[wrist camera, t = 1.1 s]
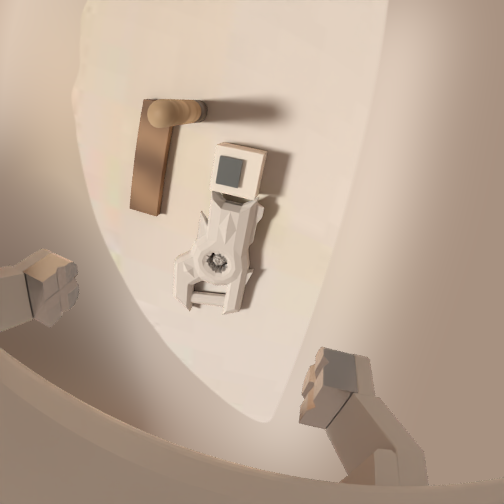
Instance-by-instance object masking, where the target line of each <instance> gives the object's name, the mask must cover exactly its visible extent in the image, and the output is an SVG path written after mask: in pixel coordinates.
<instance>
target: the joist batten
mask: <svg viewBox="0 0 504 504" xmlns="http://www.w3.org/2000/svg"><path fill="white" fill-rule="evenodd" d="M154 101H156V100H148V99H144V101H143V107H142V112H141V118H140V124H139V131H138V138H137V145H136V152H135V160H134V169H133V178H132V188H131V199H130V209H133V210H137V211H140V212H143V213H147V214H150V215H154V216H158V215H159V214H160V209H161V201H162V193H163V186H164V179H165V172H166V165H167V159H168V153H169V147H170V141H171V135H172V130H173V126H170V127H164V128H156V127H154V126H152V125H151V124H150V122H149V120H148V117H147V112H148V108H149V106H150V105H151V104H152V103H153V102H154Z"/></svg>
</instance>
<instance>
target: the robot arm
mask: <svg viewBox="0 0 504 504" xmlns="http://www.w3.org/2000/svg"><path fill="white" fill-rule="evenodd" d="M77 275H78V270H77V265H76V264H75V263H74V262H72V261H70V260H68V259H66V258H64V257H62V256H59V255H57V254H55V253H53V252H50V251H48V250H46V249H40V250H38V251H37V252H35V253H34V254H32V255H30V256H29V257H27V258H26V259H24V260H22V261H21V262H19V263H18V264H16V265H15V266H13V267H12V266H5V267H0V332H2V331H5V330H7V329H10V328H12V327H15V326H17V325H20V324H22V323H25V322H28V321H30V320H33V319H35V320H37V321H39V322H41V323H42V324H44V325H46V326H48V327H50V328H51V327H52V326H53V325H54V324H55V323H56V322H57V321H58V320H59V319H60V318H61V317H62V312H63V311H67V310H69V309H71V308H72V307H73V306H74V305H75V303H76V301H77V299H78V295H79V285H78V283H77V281H76V279H75V277H76V276H77ZM302 396H303V397H304V401H303V403H302V405H301V407H300V417H299V423H301V424H305V425H309V426H313V427H318V428H322V429H326V430H325V431H326V433H327V435H328V437H329V439H330V441H331V443H332V445H333V447H334V449H335V451H336V453H337V455H338V457H339V459H340V460H341V462H342V464H343V466H344V468H345V470H346V472H347V474H348V476H346V477H345V478H344V479H343V480H341V481H340V482H339V483H337V482H328V481H321V480H314V479H307V478H301V477H295V476H290V475H285V474H280V473H275V472H270V471H265V470H261V469H257V468H253V467H248V466H245V465H241V464H237V463H233V462H230V461H226V460H222V459H219V458H216V457H213V456H209V455H206V454H203V453H200V452H197V451H194V450H191V449H188V448H185V447H182V446H180V445H177V444H174V443H172V442H169V441H167V440H164V439H161V438H159V437H156V436H154V435H151V434H149V433H147V432H144V431H142V430H139V429H137V428H135V427H133V426H131V425H128V424H126V423H124V422H122V421H120V420H118V419H116V418H114V417H111V416H110V415H107V414H105V413H103V412H101V411H100V410H98V409H96V408H94V407H92V406H90V405H88V404H86V403H84V402H83V401H81V400H79V399H77V398H76V397H74V396H72V395H70V394H69V393H67V392H65V391H63V390H62V389H60V388H58V387H57V386H55V385H53V384H52V383H50V382H49V381H47V380H46V379H44V378H42V377H41V376H39V375H38V374H36V373H35V372H33V371H32V370H31V369H29V368H28V367H26V366H25V365H23V364H22V363H20V362H19V361H18V360H16V359H15V358H13V357H12V356H10V355H9V354H8V353H7V352H5V351H4V350H3V349H1V348H0V504H504V477H502V478H497V479H491V480H484V481H477V482H471V483H470V482H469V483H461V484H449V485H434V486H429V484H428V476H427V470H426V463H425V457H424V451H423V450H422V449H421V447H420V446H419V445H418V444H417V442H416V441H415V440H414V439H413V438H412V436H411V435H410V434H409V433H408V431H406V429H405V428H404V427H403V425H402V424H401V423H400V422H399V421H398V419H397V418H396V417H395V416H394V415H393V413H392V412H391V411H390V410H389V408H388V407H387V406H386V405H385V404H384V402H383V401H382V400H381V399H380V398H379V397H375V391H374V384H373V378H372V371H371V364H370V359H369V358H368V357H365V356H360V355H355V354H349V353H345V352H341V351H337V350H332V349H329V348H325V347H321V348H320V349H319V350H318V352H317V354H316V358H315V364H314V365H312V366H310V368H309V370H308V372H307V374H306V377H305V380H304V383H303V388H302Z"/></svg>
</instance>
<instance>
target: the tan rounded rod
mask: <svg viewBox="0 0 504 504" xmlns="http://www.w3.org/2000/svg"><path fill="white" fill-rule="evenodd" d="M206 115H207V106H206V105H205V103H203V102H202V101H199V100H175V99H159V100H156V101H154V102H153V103H152V104H151V105H150V106H149V108H148V112H147V117H148V120H149V122H150V124H151V125H152V126H154V127H156V128H164V127H170V126H176V125H182V124H189V123H196V122H201V121H202V120H204V119H205V117H206Z"/></svg>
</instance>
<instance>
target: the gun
mask: <svg viewBox="0 0 504 504" xmlns="http://www.w3.org/2000/svg"><path fill="white" fill-rule="evenodd" d="M258 199H259V197H257V198H255V200H251V201H248V202H246V203H244V204H242V203H238V202H233V201H229V200H226V199H225V198H224V197H223V196H222V194H221V193H220V192H216V191H212V195H211V202H210V210H209V217H208V219H207V218H206V216H205V215H204V213H203V212H202V211H201V214H200V221H199V228H198V235H197V239H196V240H195V241H194V244H193V246H192V249H191V250H190V251H188V252H186V253H183V254H181V255H179V256H178V257H177V258H176V259H175V264H174V287H173V296H174V297H175V298H176V299H177V300H178V301H179V302H180V303H182V304H183V305H184V306H185V307H186V308H187V309H188V310H189V311H190V310H191V308H192V306H193V303H198V304H206V305H214V306H222V307H223V313H222V315H224V314H229V313H234V312H239V310H240V308H241V303H242V299H243V294H244V289H245V285H246V283H247V281H248V280H249V278H250V276H251V275H252V273H253V270H254V269H249V265H250V262H249V252H248V249H249V246H250V245H251V244H252V243H253V241H254V236H255V231H256V226H257V223H258V222H259V221H260V220H261V218H262V216H263V212H264V206H262V205H261V204H259V203H258ZM212 253H215V254H214V255H212ZM226 260H227V262H226ZM225 262H226V264H224V263H225ZM200 281H205V282H208V283H211V284H213V285H227V289H226V294H216V293H206V292H197V291H194V284H196V283H198V282H200Z"/></svg>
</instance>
